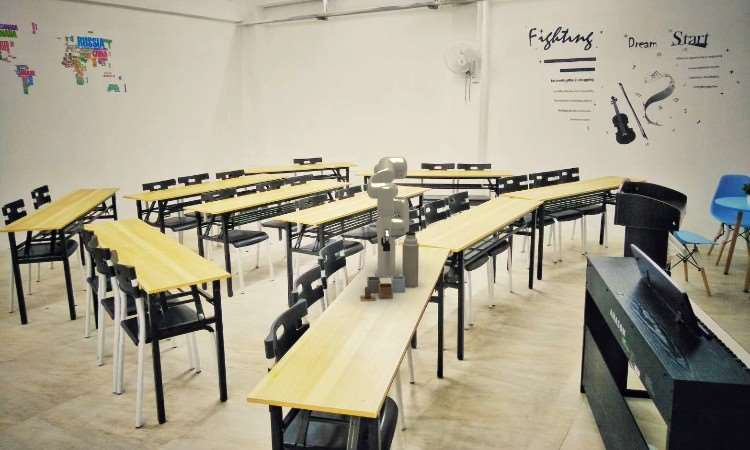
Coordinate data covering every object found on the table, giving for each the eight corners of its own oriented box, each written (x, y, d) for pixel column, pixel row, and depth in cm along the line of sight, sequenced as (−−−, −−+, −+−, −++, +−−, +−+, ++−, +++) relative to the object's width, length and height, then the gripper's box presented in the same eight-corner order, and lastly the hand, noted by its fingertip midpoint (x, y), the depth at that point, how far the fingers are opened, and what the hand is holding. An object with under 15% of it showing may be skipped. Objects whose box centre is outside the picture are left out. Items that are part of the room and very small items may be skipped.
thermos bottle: (418, 284, 275) (419, 230, 269) (416, 289, 268) (417, 234, 261) (403, 283, 277) (404, 230, 271) (401, 288, 269) (401, 233, 263)
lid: (360, 297, 257) (360, 285, 256) (374, 297, 258) (374, 285, 256) (360, 303, 251) (360, 290, 249) (375, 302, 251) (375, 290, 250)
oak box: (378, 295, 260) (378, 283, 258) (391, 295, 260) (391, 283, 259) (379, 300, 253) (379, 288, 252) (392, 299, 254) (392, 287, 252)
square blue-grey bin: (391, 289, 268) (391, 276, 266) (403, 289, 268) (403, 275, 267) (392, 293, 262) (392, 279, 260) (404, 293, 262) (405, 279, 261)
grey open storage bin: (367, 290, 267) (367, 276, 265) (379, 289, 267) (379, 276, 266) (367, 294, 261) (367, 280, 259) (380, 294, 261) (380, 280, 260)
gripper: (375, 208, 256) (375, 243, 259) (379, 216, 239) (379, 253, 243) (391, 208, 256) (391, 243, 260) (395, 216, 239) (395, 253, 243)
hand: (385, 248), depth 251 cm, fingers open, 9 cm apart
